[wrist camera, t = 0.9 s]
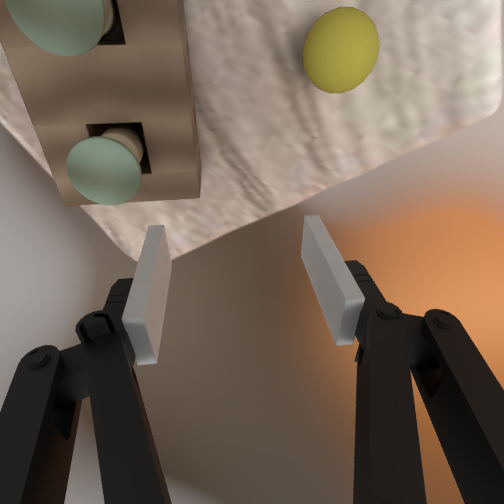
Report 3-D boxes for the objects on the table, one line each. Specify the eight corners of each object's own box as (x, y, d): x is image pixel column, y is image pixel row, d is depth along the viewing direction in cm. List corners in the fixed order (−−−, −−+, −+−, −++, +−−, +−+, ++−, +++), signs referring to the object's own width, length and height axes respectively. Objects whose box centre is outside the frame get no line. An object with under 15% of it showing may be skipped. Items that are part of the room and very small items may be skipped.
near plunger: (42, -39, 24) (-18, -61, 18) (118, -39, 25) (86, -61, 18) (68, 48, 28) (24, 57, 21) (135, 47, 28) (112, 55, 22)
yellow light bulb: (276, 48, 34) (296, 56, 26) (325, -9, 32) (364, -19, 24) (314, 96, 37) (343, 116, 29) (361, 47, 35) (407, 55, 27)
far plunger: (87, 115, 31) (55, 140, 24) (147, 113, 31) (131, 137, 25) (104, 171, 34) (79, 207, 27) (158, 169, 34) (146, 203, 28)
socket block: (7, -71, 27) (-56, -100, 21) (175, -70, 28) (165, -97, 22) (88, 176, 40) (64, 205, 34) (201, 170, 41) (199, 198, 35)
